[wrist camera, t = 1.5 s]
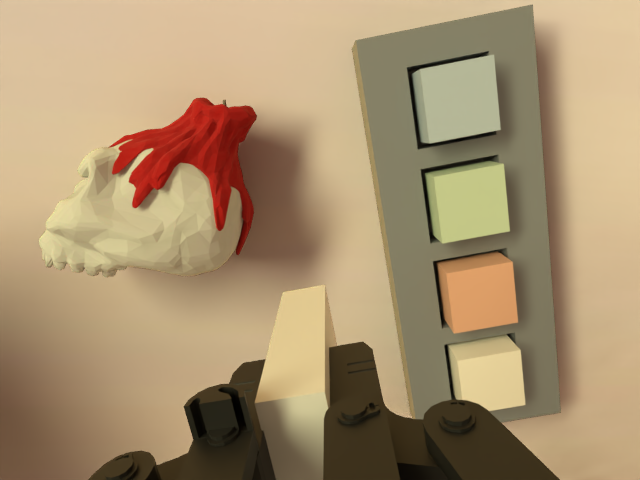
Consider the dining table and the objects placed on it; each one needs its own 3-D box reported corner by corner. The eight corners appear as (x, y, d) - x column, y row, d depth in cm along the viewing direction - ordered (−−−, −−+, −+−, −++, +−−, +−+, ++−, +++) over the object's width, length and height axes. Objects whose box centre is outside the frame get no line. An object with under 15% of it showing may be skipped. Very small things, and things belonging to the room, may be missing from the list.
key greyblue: (420, 142, 31) (429, 143, 28) (411, 74, 29) (420, 69, 27) (485, 129, 30) (500, 129, 28) (478, 60, 29) (494, 54, 27)
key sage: (432, 234, 32) (442, 243, 30) (424, 172, 31) (433, 177, 28) (494, 222, 32) (509, 231, 29) (488, 160, 31) (503, 163, 28)
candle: (73, 241, 34) (168, 63, 33) (206, 313, 35) (303, 144, 34) (-6, 263, 25) (122, 20, 24) (177, 358, 26) (307, 132, 25)
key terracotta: (443, 318, 34) (453, 333, 31) (436, 262, 33) (446, 273, 30) (502, 307, 33) (518, 322, 31) (497, 251, 32) (512, 261, 30)
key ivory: (453, 394, 35) (464, 415, 33) (447, 343, 34) (457, 360, 32) (510, 385, 35) (525, 405, 32) (505, 333, 34) (520, 350, 31)
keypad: (410, 411, 38) (418, 436, 35) (351, 48, 31) (355, 40, 28) (540, 389, 38) (560, 412, 35) (511, 16, 31) (532, 4, 28)
